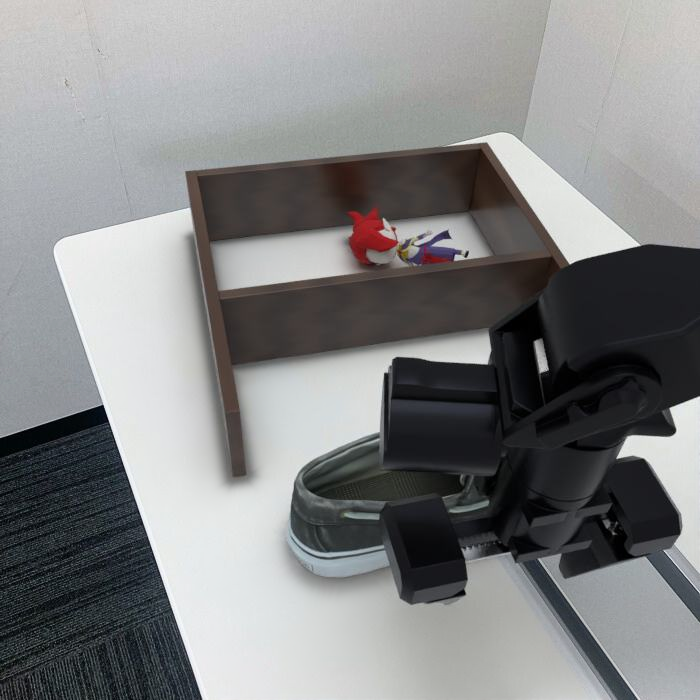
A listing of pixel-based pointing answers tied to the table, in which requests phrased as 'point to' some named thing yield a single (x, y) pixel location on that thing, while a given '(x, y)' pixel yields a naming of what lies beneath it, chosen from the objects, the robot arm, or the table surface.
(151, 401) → the table surface
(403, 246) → the figurine
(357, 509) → the boat shoe
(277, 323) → the shoe rack
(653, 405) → the robot arm
